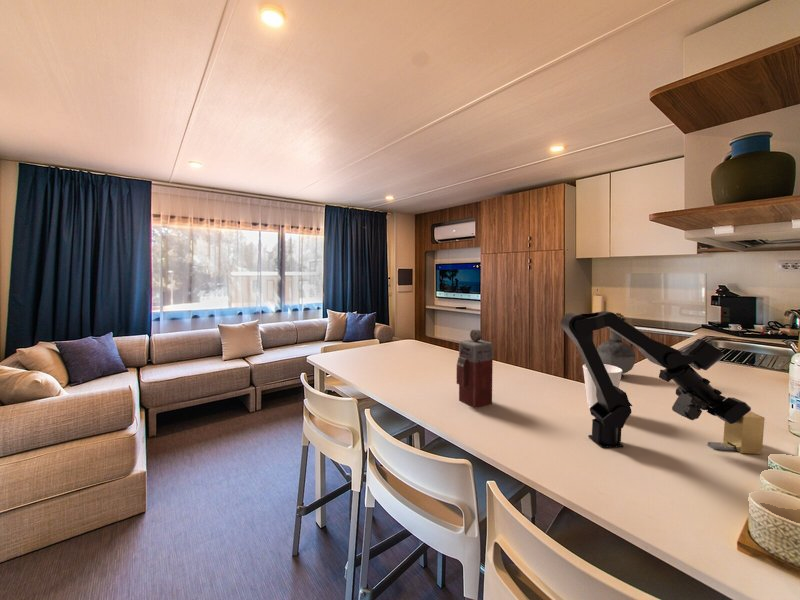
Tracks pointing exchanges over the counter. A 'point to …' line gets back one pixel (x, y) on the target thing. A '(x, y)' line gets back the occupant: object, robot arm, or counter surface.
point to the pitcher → (617, 351)
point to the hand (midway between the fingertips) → (731, 421)
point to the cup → (590, 386)
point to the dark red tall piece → (475, 371)
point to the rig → (722, 446)
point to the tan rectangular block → (746, 433)
